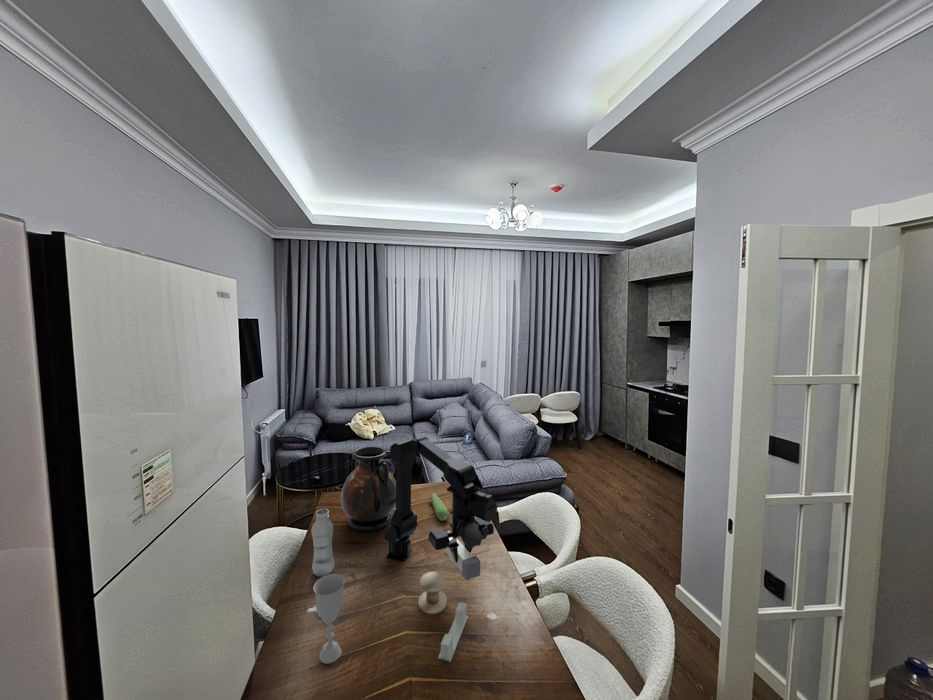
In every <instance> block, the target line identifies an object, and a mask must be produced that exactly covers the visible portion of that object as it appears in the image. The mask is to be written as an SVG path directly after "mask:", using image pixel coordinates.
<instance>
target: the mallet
mask: <svg viewBox="0 0 933 700" xmlns="http://www.w3.org/2000/svg"><path fill="white" fill-rule="evenodd" d="M457 543H458V544H459V546H458V561H457V563H456V562H455V561H454V558H453V555H452V553H451V550H450V548H449V547H447V548H445V552H446V553H447V555H448V557H450V559H451V560H452V562H453V563H454V564H455V565H456V566H457V568H458V569H459V570H460V571H461V576H462V577H463V578H464V579H465V581H469V580H471V579H474V578H477V577H480V575H481V560H480V559H479V558H478V556H477V555H475V556H473V555H472V553H470V552H469V551H468V550H467V549H466V548H465V545H464V544H463V542H462V541H460V540H459V538H457Z"/></svg>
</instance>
